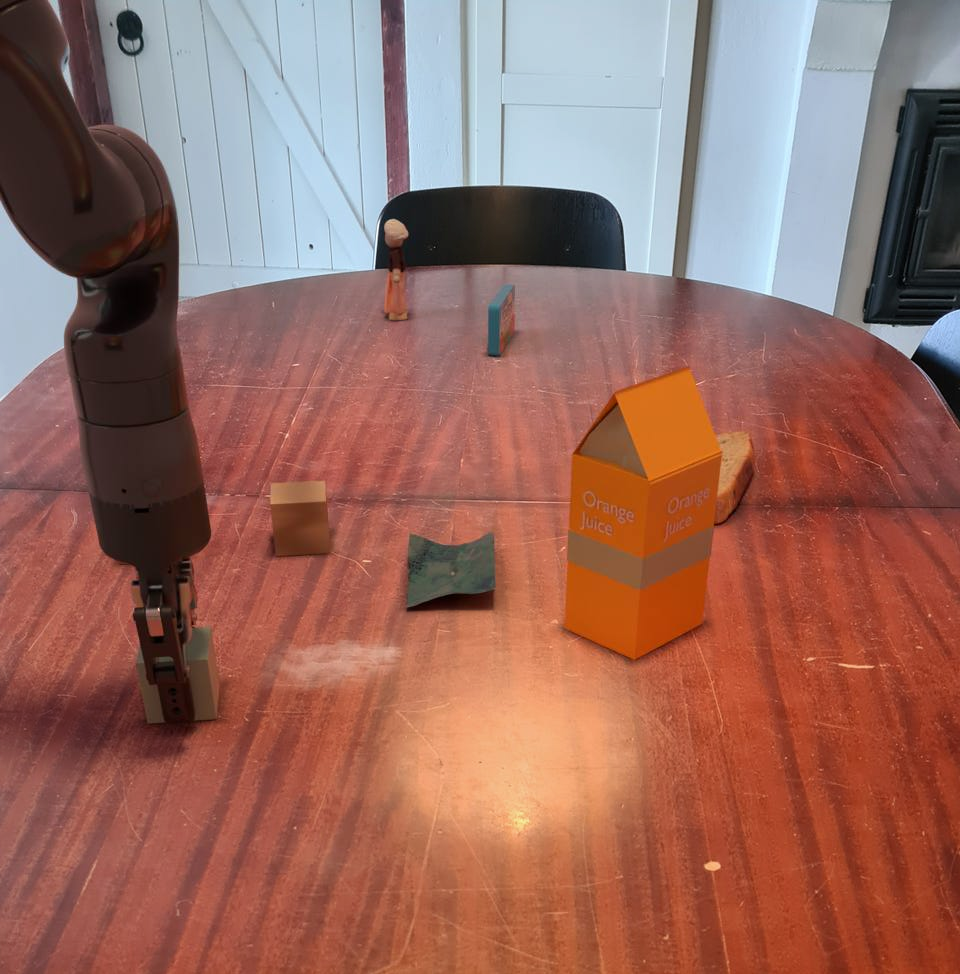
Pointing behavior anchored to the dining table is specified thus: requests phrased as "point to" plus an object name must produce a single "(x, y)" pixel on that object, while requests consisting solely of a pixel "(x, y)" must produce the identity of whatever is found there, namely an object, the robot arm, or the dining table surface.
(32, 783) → the dining table surface
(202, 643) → the sage block
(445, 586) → the terrain model
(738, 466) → the bread slice
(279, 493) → the beech block right
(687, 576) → the orange juice
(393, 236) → the grandmother figurine
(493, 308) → the teal flat box
